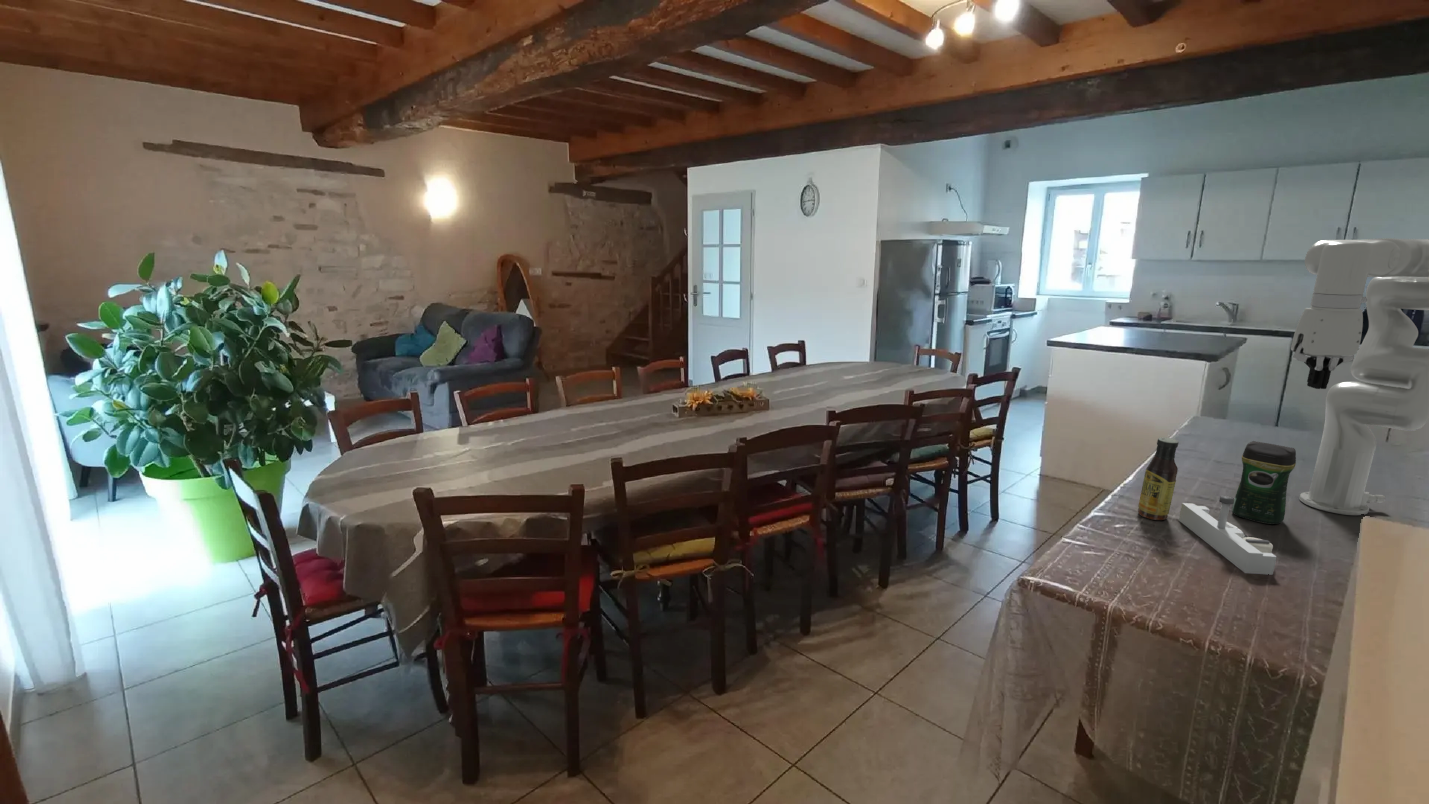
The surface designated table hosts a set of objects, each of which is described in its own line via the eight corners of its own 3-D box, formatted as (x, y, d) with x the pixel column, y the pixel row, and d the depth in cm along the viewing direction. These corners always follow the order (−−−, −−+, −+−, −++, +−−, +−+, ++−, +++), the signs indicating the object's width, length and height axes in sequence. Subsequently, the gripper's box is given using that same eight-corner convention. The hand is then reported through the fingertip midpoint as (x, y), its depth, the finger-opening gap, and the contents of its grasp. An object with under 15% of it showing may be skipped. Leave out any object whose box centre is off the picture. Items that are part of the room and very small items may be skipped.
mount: (1201, 521, 151) (1210, 476, 148) (1272, 574, 127) (1284, 522, 124) (1178, 520, 152) (1187, 475, 149) (1244, 572, 128) (1256, 520, 125)
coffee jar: (1286, 519, 152) (1303, 445, 147) (1278, 528, 147) (1295, 453, 142) (1235, 506, 159) (1250, 436, 154) (1226, 515, 154) (1241, 443, 150)
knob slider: (1259, 555, 135) (1263, 535, 134) (1275, 566, 130) (1279, 546, 129) (1232, 553, 136) (1236, 534, 135) (1247, 564, 131) (1252, 545, 130)
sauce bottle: (1131, 511, 157) (1143, 435, 152) (1154, 510, 158) (1167, 434, 153) (1150, 523, 151) (1164, 443, 146) (1175, 521, 151) (1189, 442, 146)
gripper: (1362, 300, 135) (1342, 384, 139) (1282, 300, 137) (1265, 383, 142) (1392, 304, 127) (1370, 392, 132) (1307, 304, 130) (1289, 391, 135)
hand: (1316, 387), depth 137 cm, fingers closed
